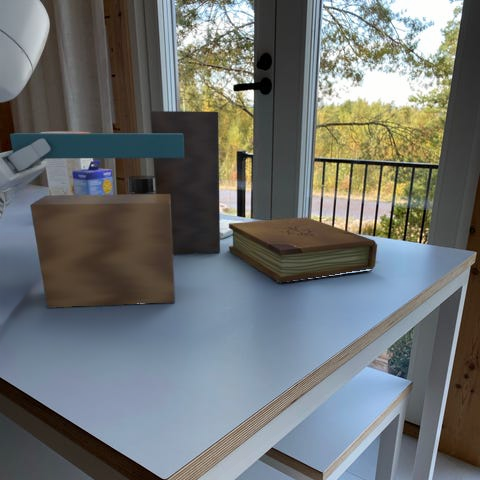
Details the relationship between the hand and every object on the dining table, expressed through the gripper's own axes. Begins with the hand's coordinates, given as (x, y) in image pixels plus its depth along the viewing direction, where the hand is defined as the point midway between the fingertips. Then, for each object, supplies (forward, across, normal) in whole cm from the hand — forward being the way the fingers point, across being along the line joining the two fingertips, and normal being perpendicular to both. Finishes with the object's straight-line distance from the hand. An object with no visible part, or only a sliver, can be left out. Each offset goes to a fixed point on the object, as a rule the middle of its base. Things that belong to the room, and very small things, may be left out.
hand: (52, 142), depth 63 cm
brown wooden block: (-6, 0, +22) cm, 23 cm away
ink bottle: (-4, +48, +23) cm, 53 cm away
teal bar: (+4, 0, +5) cm, 7 cm away
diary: (+22, +16, +38) cm, 47 cm away
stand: (+5, +27, +28) cm, 39 cm away
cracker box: (-25, +86, +12) cm, 90 cm away
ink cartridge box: (-16, +64, +16) cm, 68 cm away
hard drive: (+12, +42, +32) cm, 54 cm away
